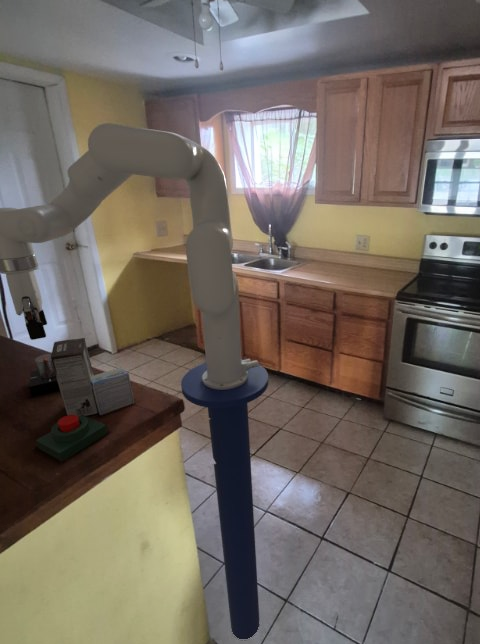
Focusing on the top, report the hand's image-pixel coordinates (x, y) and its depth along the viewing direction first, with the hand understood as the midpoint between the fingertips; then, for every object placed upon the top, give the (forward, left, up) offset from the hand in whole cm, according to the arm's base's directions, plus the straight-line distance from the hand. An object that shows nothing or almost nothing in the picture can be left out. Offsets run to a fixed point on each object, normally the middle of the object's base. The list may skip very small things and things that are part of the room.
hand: (39, 331), depth 93 cm
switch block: (-4, +29, -15) cm, 33 cm away
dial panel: (0, 0, -15) cm, 15 cm away
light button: (-4, +29, -12) cm, 31 cm away
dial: (0, 0, -12) cm, 12 cm away
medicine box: (-13, +19, -16) cm, 28 cm away
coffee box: (-6, +16, -15) cm, 23 cm away
